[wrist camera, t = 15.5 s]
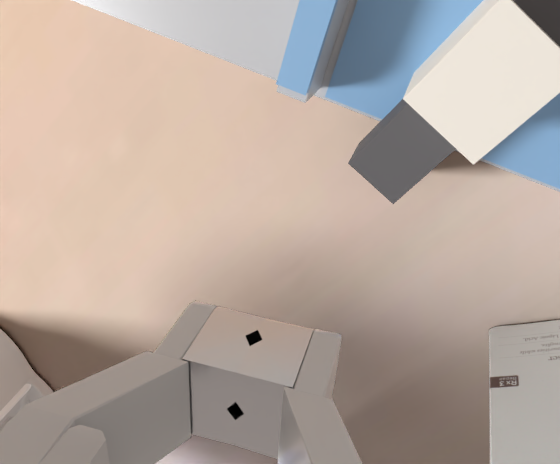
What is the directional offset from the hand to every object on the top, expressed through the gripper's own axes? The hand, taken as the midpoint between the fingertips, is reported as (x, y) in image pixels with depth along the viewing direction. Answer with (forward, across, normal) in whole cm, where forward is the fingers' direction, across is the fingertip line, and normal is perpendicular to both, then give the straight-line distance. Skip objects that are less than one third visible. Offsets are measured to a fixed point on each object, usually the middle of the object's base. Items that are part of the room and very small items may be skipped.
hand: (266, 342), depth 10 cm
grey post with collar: (+19, -5, -2) cm, 20 cm away
